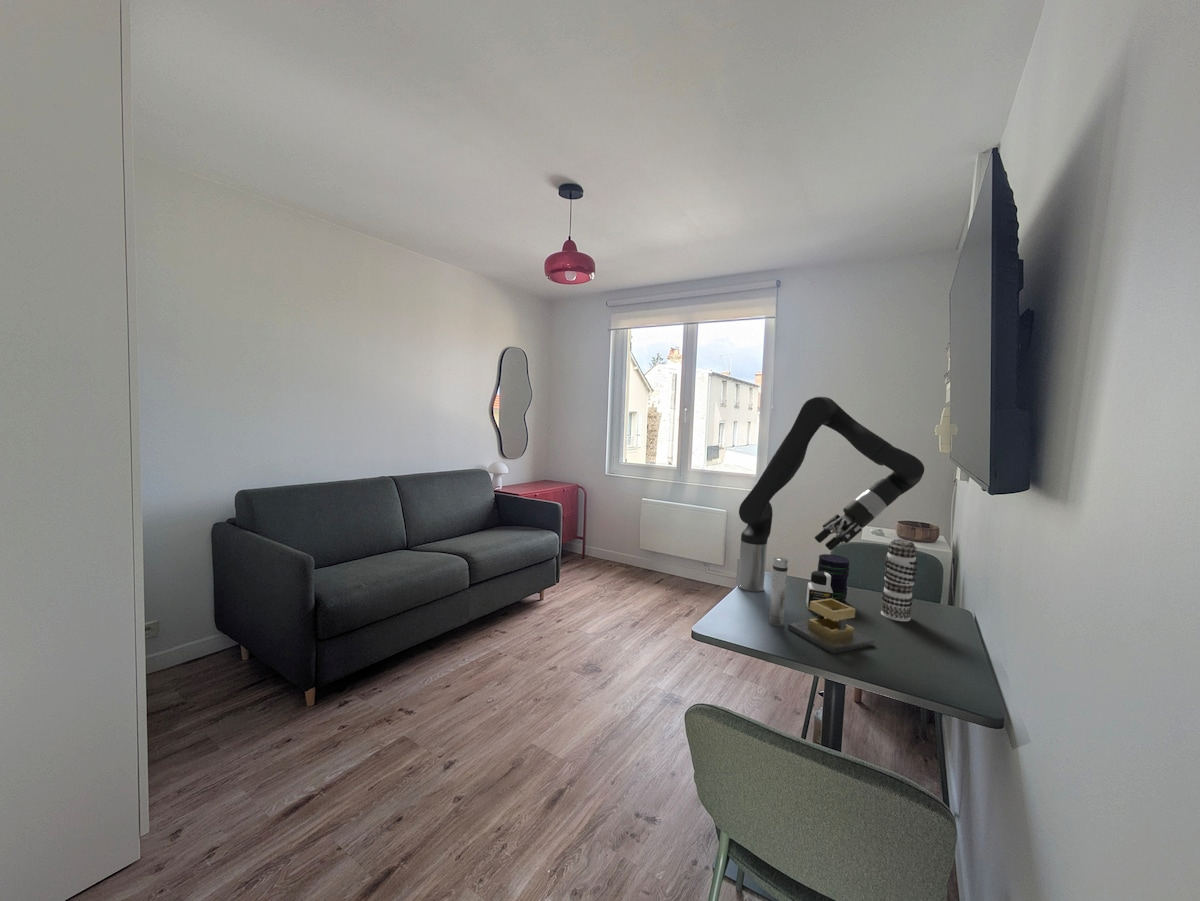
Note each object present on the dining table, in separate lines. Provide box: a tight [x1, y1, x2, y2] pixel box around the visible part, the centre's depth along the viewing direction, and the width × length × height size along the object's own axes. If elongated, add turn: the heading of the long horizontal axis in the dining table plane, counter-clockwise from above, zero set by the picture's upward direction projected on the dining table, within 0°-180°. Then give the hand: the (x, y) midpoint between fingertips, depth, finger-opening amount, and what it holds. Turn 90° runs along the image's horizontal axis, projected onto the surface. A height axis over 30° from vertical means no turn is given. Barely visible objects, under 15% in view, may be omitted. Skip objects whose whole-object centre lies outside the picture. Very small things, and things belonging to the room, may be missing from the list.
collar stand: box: [787, 598, 875, 655], centre depth 142 cm, size 16×16×10 cm
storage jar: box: [817, 553, 850, 605], centre depth 172 cm, size 10×10×15 cm
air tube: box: [768, 557, 789, 628], centre depth 149 cm, size 4×4×20 cm
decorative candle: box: [880, 538, 919, 622], centre depth 160 cm, size 9×9×25 cm
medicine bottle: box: [806, 570, 833, 610], centre depth 165 cm, size 7×7×12 cm
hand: (822, 544), depth 148 cm, fingers open, 8 cm apart
